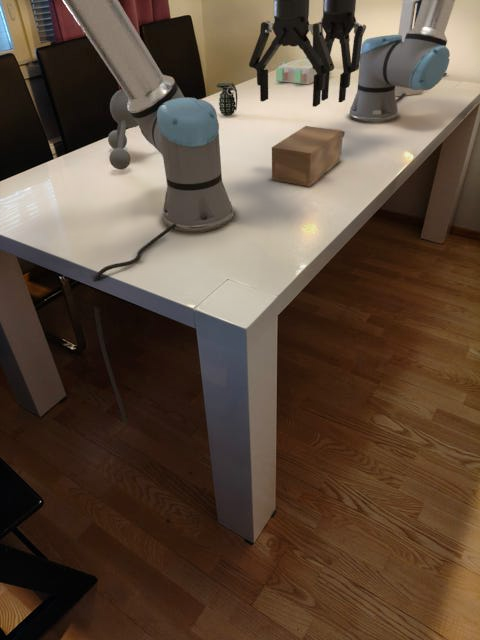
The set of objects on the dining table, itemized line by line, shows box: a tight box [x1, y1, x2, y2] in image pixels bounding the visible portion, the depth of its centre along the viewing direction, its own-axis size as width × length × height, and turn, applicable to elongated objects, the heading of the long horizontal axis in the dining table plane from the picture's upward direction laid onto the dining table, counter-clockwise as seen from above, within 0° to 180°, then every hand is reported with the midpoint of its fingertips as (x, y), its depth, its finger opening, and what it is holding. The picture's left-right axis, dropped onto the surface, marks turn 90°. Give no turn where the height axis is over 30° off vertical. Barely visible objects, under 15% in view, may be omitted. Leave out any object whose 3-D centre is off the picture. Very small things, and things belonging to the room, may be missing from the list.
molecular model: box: [107, 88, 139, 171], centre depth 132 cm, size 24×22×30 cm
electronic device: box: [395, 0, 423, 98], centre depth 172 cm, size 12×8×30 cm, turn 105°
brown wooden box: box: [271, 125, 343, 187], centre depth 124 cm, size 19×10×8 cm, turn 148°
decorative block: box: [275, 56, 317, 85], centre depth 206 cm, size 26×6×20 cm
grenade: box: [215, 82, 238, 117], centre depth 166 cm, size 7×6×10 cm
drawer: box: [340, 130, 345, 157], centre depth 128 cm, size 24×9×6 cm, turn 148°
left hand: (289, 102), depth 116 cm, fingers open, 13 cm apart
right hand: (333, 99), depth 127 cm, fingers open, 4 cm apart
